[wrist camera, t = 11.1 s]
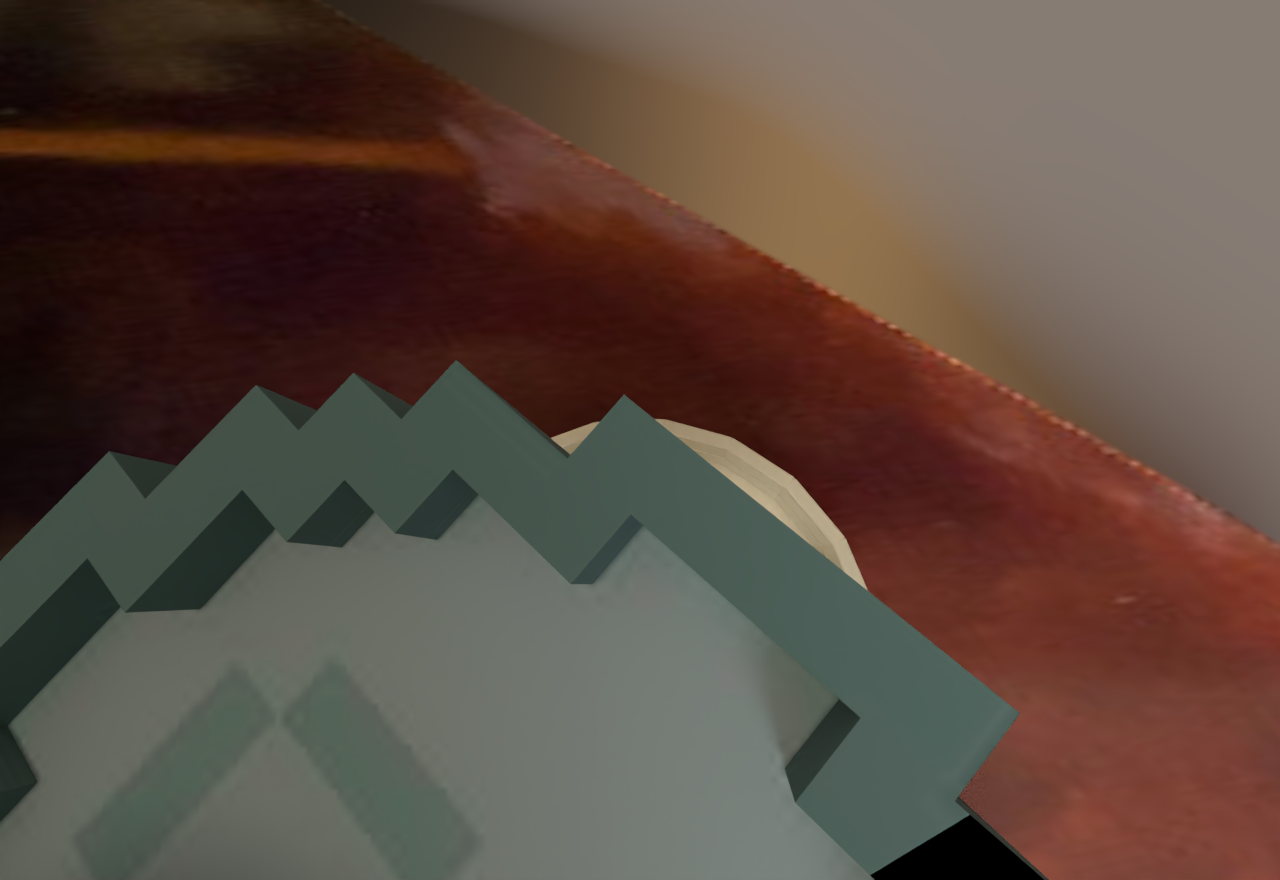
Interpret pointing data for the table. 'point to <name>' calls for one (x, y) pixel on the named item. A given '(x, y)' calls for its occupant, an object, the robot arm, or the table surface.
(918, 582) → the table surface
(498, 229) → the table surface
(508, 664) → the can
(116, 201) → the table surface
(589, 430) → the pan
